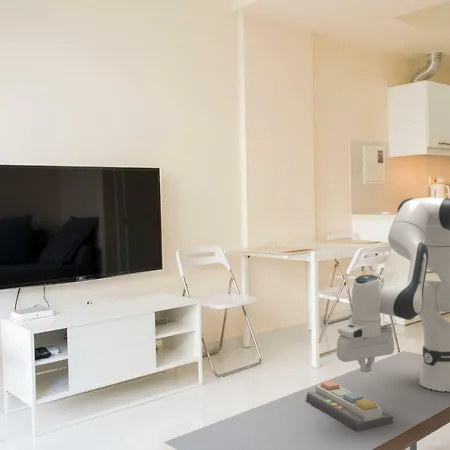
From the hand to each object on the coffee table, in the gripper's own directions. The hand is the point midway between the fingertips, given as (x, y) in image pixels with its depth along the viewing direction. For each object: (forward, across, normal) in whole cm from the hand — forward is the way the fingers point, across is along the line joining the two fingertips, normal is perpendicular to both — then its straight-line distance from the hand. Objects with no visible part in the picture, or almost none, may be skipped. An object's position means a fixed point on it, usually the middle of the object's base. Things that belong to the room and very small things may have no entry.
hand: (365, 371), depth 169 cm
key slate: (+12, 0, -6) cm, 14 cm away
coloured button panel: (+16, 0, -9) cm, 19 cm away
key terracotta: (+12, 0, -19) cm, 22 cm away
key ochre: (+12, 0, 0) cm, 12 cm away
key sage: (+13, 0, -12) cm, 18 cm away
